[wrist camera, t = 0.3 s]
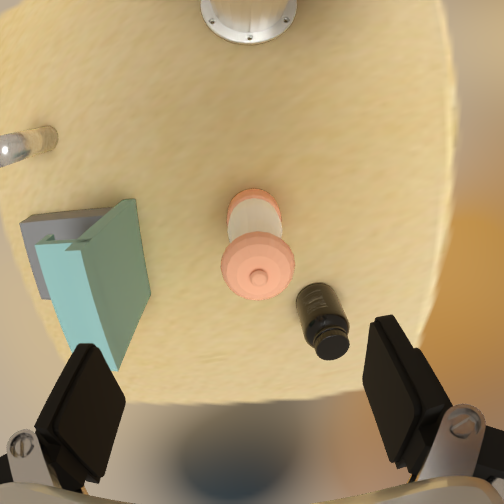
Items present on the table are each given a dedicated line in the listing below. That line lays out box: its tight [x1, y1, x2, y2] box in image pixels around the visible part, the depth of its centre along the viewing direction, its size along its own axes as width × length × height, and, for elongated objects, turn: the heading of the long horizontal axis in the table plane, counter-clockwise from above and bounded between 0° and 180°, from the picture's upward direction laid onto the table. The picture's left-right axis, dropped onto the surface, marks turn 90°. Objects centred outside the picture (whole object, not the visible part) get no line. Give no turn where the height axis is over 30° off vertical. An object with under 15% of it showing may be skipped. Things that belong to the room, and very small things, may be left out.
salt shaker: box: [221, 189, 295, 300], centre depth 37 cm, size 7×7×19 cm
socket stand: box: [19, 199, 151, 371], centre depth 39 cm, size 16×20×18 cm
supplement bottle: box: [296, 284, 350, 360], centre depth 47 cm, size 7×7×12 cm
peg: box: [0, 126, 58, 167], centre depth 34 cm, size 4×4×12 cm
